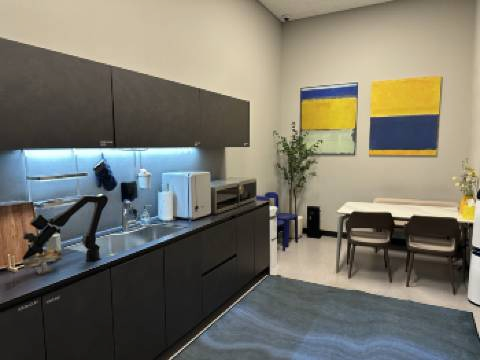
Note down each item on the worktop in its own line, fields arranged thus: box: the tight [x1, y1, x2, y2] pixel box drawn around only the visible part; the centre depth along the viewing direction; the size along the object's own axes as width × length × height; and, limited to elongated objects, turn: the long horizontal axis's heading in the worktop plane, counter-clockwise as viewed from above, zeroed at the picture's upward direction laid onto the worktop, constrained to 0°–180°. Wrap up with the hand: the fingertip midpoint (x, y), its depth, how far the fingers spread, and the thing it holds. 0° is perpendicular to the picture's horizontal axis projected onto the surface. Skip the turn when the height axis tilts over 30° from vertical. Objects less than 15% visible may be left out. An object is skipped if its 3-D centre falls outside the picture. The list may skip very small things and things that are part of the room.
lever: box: [21, 248, 63, 269], centre depth 183 cm, size 18×7×6 cm, turn 127°
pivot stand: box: [35, 261, 54, 275], centre depth 183 cm, size 7×11×6 cm, turn 37°
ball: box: [45, 250, 54, 256], centre depth 185 cm, size 4×4×4 cm
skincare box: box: [45, 233, 62, 262], centre depth 202 cm, size 8×6×15 cm
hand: (22, 258), depth 177 cm, fingers closed, pressing on lever
